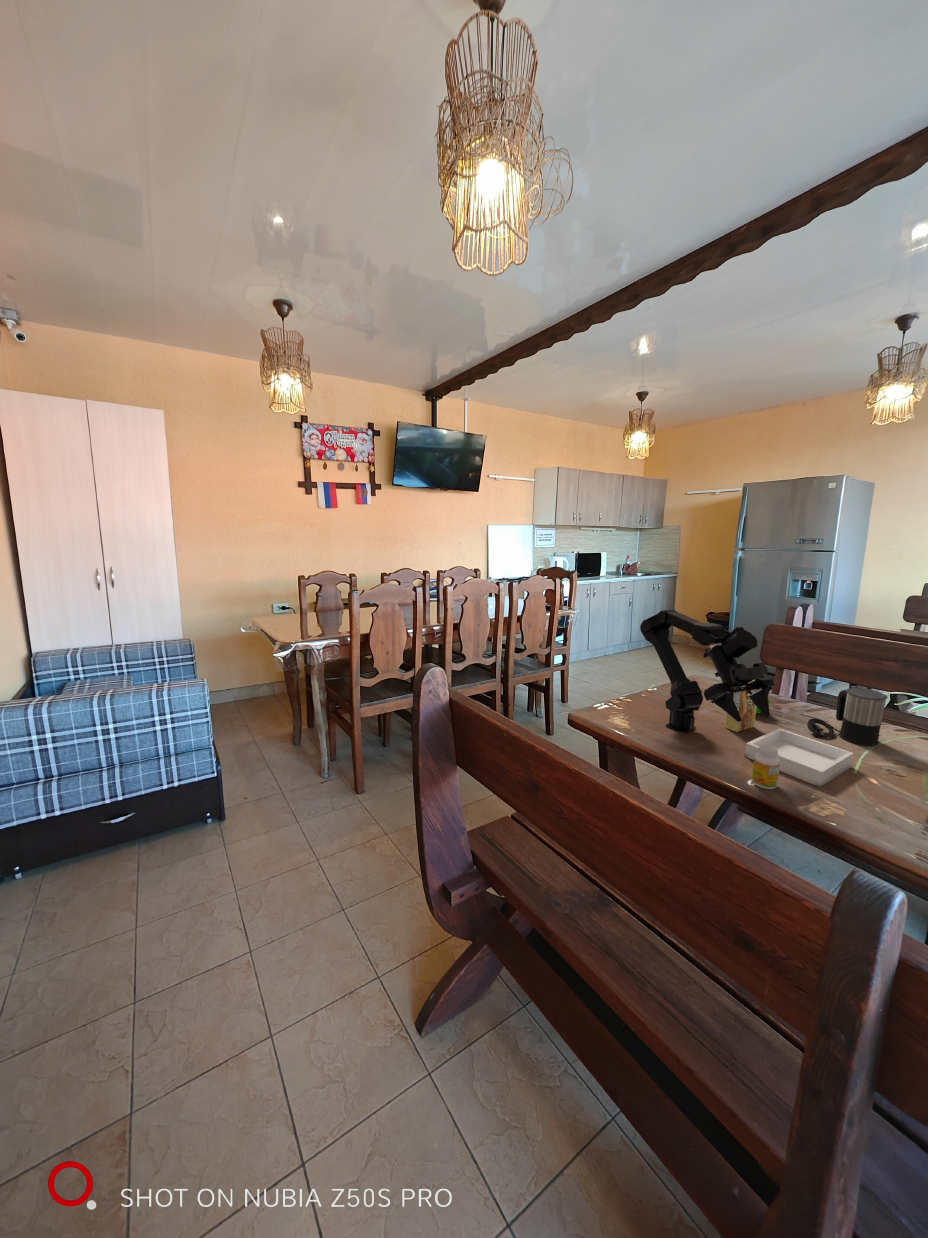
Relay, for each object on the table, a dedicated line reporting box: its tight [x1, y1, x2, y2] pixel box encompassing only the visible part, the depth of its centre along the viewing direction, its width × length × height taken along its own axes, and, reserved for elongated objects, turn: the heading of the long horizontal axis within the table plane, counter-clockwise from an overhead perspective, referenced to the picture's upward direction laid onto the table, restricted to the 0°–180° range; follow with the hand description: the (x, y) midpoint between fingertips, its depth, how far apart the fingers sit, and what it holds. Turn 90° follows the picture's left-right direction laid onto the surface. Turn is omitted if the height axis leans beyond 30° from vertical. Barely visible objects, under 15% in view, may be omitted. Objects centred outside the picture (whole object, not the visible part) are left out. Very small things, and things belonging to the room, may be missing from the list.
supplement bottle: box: [751, 744, 780, 790], centre depth 113 cm, size 5×5×10 cm
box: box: [744, 727, 855, 788], centre depth 124 cm, size 18×18×4 cm
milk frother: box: [806, 687, 889, 747], centre depth 137 cm, size 14×16×15 cm
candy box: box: [725, 679, 757, 733], centre depth 144 cm, size 9×4×15 cm, turn 116°
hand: (754, 719), depth 119 cm, fingers open, 9 cm apart
